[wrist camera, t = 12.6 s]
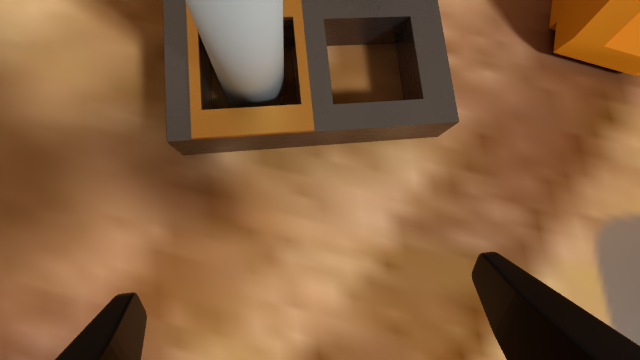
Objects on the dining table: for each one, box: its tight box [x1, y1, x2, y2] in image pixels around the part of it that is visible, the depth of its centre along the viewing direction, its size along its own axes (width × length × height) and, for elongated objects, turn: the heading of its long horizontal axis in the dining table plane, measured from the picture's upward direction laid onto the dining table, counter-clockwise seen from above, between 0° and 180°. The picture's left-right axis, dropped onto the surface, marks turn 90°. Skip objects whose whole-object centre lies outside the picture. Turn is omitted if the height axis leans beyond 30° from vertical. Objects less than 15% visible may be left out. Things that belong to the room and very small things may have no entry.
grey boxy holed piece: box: [163, 0, 459, 155], centre depth 22 cm, size 9×17×3 cm, turn 96°
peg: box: [185, 0, 284, 108], centre depth 17 cm, size 4×4×12 cm
